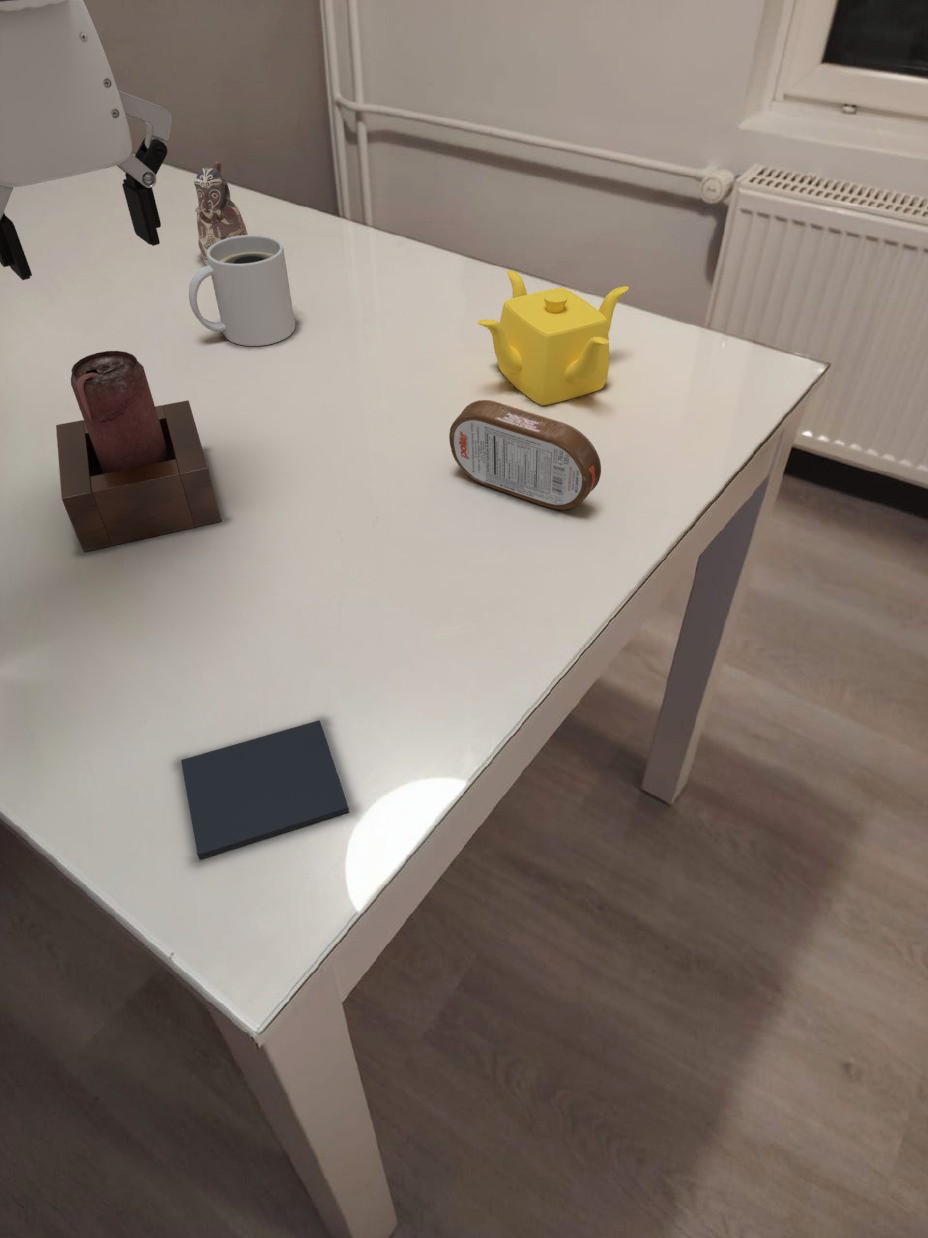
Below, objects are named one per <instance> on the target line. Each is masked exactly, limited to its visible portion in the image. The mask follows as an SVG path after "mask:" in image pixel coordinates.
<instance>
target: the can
mask: <svg viewBox="0 0 928 1238" xmlns="http://www.w3.org/2000/svg"><path fill="white" fill-rule="evenodd" d="M70 386H71V388H72V391H73V394H74V396H75V399H76V402H77V406H78V408H79V411H80V413H81V416H82V420H83V421H84V422H85V424H86V427H87V430H88V433H89V436H90V438H91V441H92V444H93V447H94V449H95V452H96V455H97V458H98V460H99V463H100V466H101V469H102V472H103V474H106V473H111V472H116V471H121V470H126V469H131V468H135V467H140V466H145V465H150V464H155V463H160V462H165V461H170V456H169V453H168V450H167V446H166V443H165V439H164V436H163V432H162V429H161V425H160V422H159V419H158V415H157V412H156V408H155V406H156V405H155V402H154V398H153V395H152V391H151V388H150V384H149V382H148V377H147V374H146V371H145V368H144V366H143V364H142V363H141V362H139V361H138V358H137V357H136V356H135V355H134V354H132V353H129V352H127V351H122V350H106V351H101V352H95V353H92V354H89V355H87V356H85V357H83V358H80V359H79V360H78V361H77V362H75V363H74V364H73V366H72V367H71V376H70Z"/></svg>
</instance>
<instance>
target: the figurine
mask: <svg viewBox="0 0 928 1238" xmlns="http://www.w3.org/2000/svg"><path fill="white" fill-rule="evenodd" d="M221 171H222V163H220V162H218V161H214V162H213V165H212V167H207V166H206V167H202V168H201V169H200V171H198V172H197V175H196V178H195V179H194V181H193V185H194V187H195V191H196V196H197V203H198V206H195V208H194V211H195V213H196V224H197V225H196V226H197V234H198V248H199V250H200V255H201V258H202V260H203V263H204V264H205V266H208V265H209V263H208V258H205V257H207V251H208V249H209V248H210V246H212V245H213V244H215V243H216V242H218V241H221V240H224V239H227V238H230V237H235V236H242V235H249V233H248V231H247V227H246V224H245V222H244V219H243V216H242V213H241V211H240V209H239V208H238V206H237V205H236V204H235V203H234V202H233V201H232V200H231V191H230V188H229V185H228V182H227V181H226V180H225V179H224V178H223V176H222V175H221ZM204 256H205V257H204Z"/></svg>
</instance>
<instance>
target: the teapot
mask: <svg viewBox="0 0 928 1238" xmlns="http://www.w3.org/2000/svg"><path fill="white" fill-rule="evenodd" d="M507 276H508V278H509V281H510V284H511V289H512V291H511V292H512V298H509V299H506V300H505V301H504V302H503V305H502V309H501V314H500V319H499V321H498V320H495V319H490V318H489V319H488V318H487V319H480V320H478V321H476V322H477V324H478V325H480V326H482V327H484V328H487V330H488V331H489V332H490V334H491V337H492V343H493V351H494V354H495V357H496V361H497V366H498V368H499V370H500V372H501V373H502V374H503V375H504V377H505V378H506V380H508V381H509V382H510V383H511V384H512V385H513V386H514V387H515V388H516V389H517V390H518V391H520V392H521V393H522V394H523V395H524V396H526V397H527V398H528V399H530V400H531V401H533V402H534V403H536V404H538V405H540V406H550V405H552V404H553V405H554V404H557V403H560V402H565V401H567V400H572V399H574V398H578V397H582V396H585V395H589V394H591V393H595V392H598V391H600V390H602V389H604V387H605V384H606V381H607V379H608V376H609V366H610V337H609V333H610V331H611V325H612V320H613V315H614V311H615V308H616V306H617V303H618V301H619V300H620V299H621V297H622V296H623V295H625V294H626V292H628V291H629V289H630V288H629V286H625V285H624V286H620V287H616V288H614V289H612V290H611V291H610V292H609V293H608V294H607V295H606V296H605V297H604V299H603V300H602V302H601V304H600V305H599V308H598V309H597V308H596V307H595V306H593V305H592V304H591V303H590V302H588V301H587V300H585V299H584V298H583V297H581V296H579V295H578V294H576V293H574V292H573V291H571V290H569V289H567V288H565V287H562V286H561V287H560V286H559V287H556V288H550V289H546V290H542V291H537V292H533V293H528V292H527V288H526V286H525V283H524V280H523V278H522V277H521V275H520V274H519V273H518V272H517V271H515V270H511V269H508V270H507Z"/></svg>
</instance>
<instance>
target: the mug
mask: <svg viewBox="0 0 928 1238" xmlns="http://www.w3.org/2000/svg"><path fill="white" fill-rule="evenodd" d="M207 258H208V263H209V265H205V266H203V267H200V268H199V269H198V270H197V271H196V272H195V273H194V274H193V276H192V278H191V281H190V282H189V286H188V287H189V288H188V302H189V305H190V308H191V311H192V313H193V315H194V316H195V318H196V319H197V320H198V321H199V323H200V324H201V325H202V326H204V327H205V328H206V329H207V330H210V331H212V332H223V335H224V337H225V338H226V339H227V340H228V341H229V342H231V343H233V344H236V345H240V346H245V347H261V346H268V345H272V344H276V343H279V342H281V341H283V340H285V339H287V338H288V337H290V336H291V335H292V334H293V333H294V331H295V329H296V319H295V315H294V314H295V313H294V309H293V302H292V295H291V287H290V281H289V276H288V269H287V268H288V267H287V262H286V255H285V249H284V245H283V243H282V242H281V241H280V240H278V239H277V238H274V237H271V236H267V235H260V234H248V235H242V236H235V237H230V238H227V239H224V240H221V241H218V242H216V243H215V244H213V245H212V246H210V248H209V249H208V251H207ZM208 277H211V281H212V285H213V290H214V296H215V301H216V304H217V309H218V314H219V319H220V321H218V322H215V321H210V320H208V319H206V318H205V317H204V316H203V315H202V313H201V311H200V309H199V305H198V292H199V288H200V286H201V284H202V282H204V280H205V279H206V278H208Z"/></svg>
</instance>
